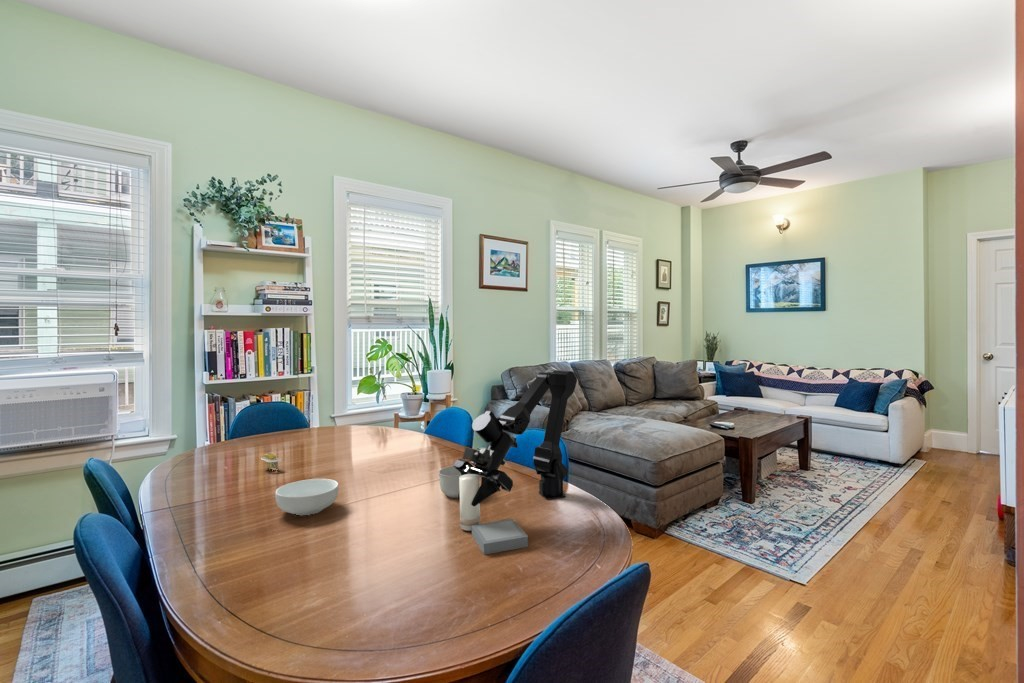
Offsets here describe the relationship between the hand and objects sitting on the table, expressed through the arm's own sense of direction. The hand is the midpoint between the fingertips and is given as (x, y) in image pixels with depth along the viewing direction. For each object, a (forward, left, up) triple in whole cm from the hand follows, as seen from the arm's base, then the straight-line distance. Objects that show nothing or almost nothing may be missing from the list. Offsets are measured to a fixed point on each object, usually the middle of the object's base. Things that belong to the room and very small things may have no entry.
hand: (465, 502), depth 122 cm
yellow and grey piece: (+56, -77, -8) cm, 96 cm away
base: (-6, +9, -7) cm, 13 cm away
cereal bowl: (+40, -29, -7) cm, 50 cm away
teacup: (-4, -28, -7) cm, 29 cm away
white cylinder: (-1, -1, -7) cm, 7 cm away
